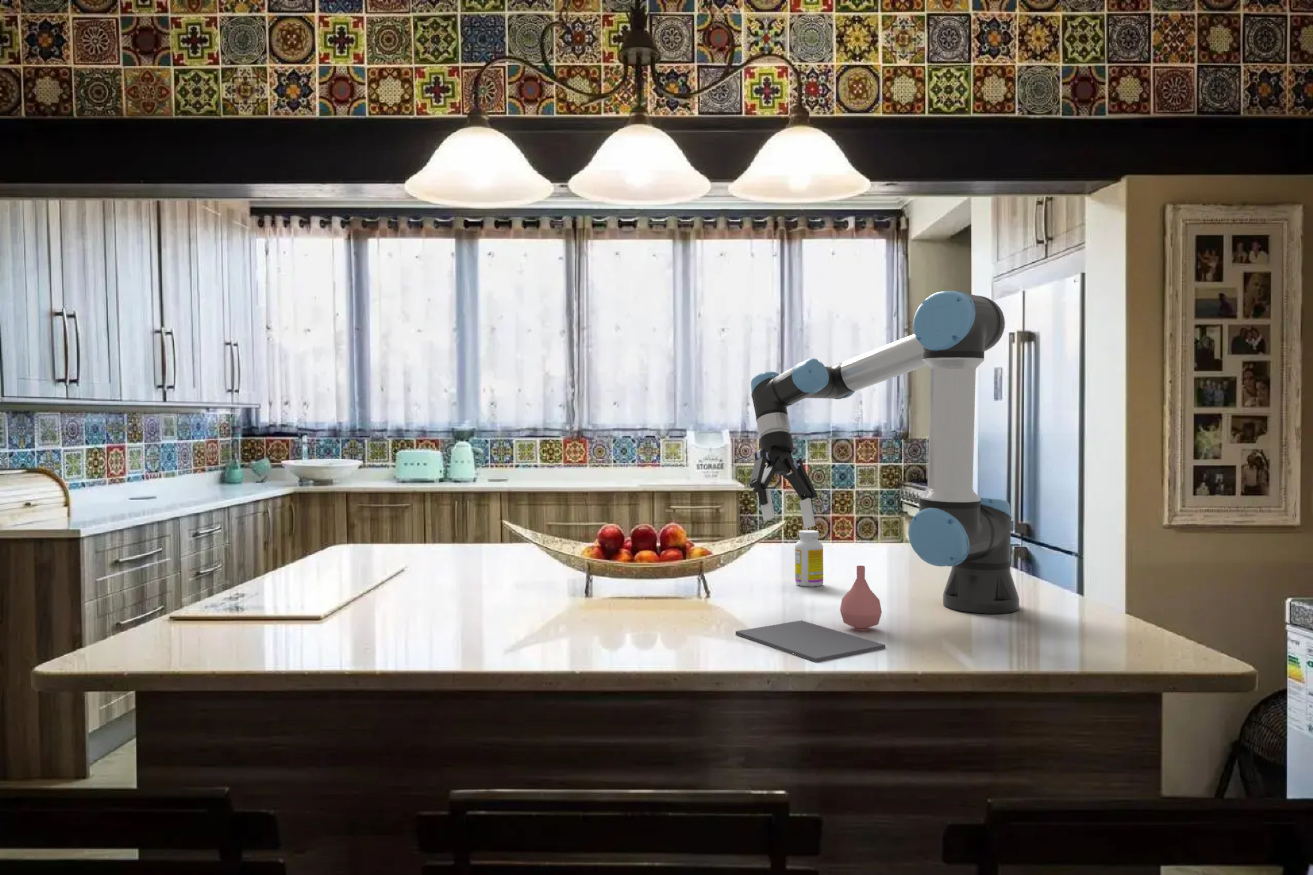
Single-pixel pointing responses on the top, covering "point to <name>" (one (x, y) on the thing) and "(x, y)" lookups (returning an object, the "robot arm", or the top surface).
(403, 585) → the top surface
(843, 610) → the pink vase
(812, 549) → the supplement bottle
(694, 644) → the top surface
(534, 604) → the top surface
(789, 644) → the mat
